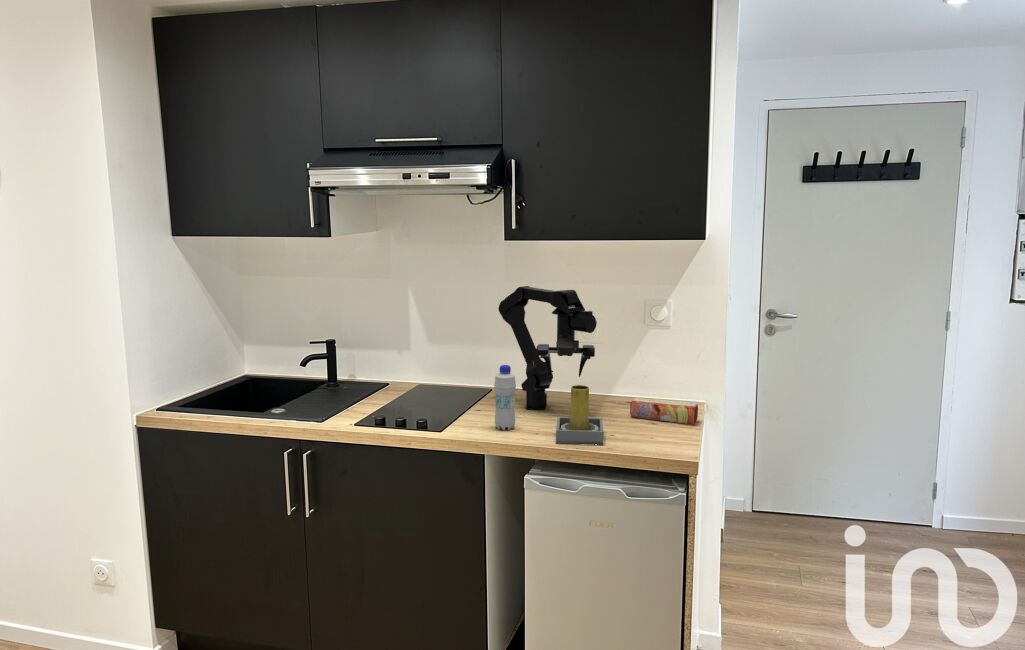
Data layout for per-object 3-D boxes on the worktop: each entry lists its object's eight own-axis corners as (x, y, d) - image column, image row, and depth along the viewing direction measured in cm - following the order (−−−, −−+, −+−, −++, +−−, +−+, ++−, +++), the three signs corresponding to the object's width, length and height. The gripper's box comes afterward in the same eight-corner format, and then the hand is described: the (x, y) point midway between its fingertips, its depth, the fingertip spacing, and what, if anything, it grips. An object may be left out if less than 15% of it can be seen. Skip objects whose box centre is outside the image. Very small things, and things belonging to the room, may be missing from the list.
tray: (555, 443, 219) (556, 430, 218) (557, 429, 232) (557, 416, 231) (603, 445, 217) (603, 432, 217) (601, 430, 231) (602, 418, 230)
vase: (586, 437, 221) (587, 390, 218) (566, 435, 223) (566, 388, 221) (591, 431, 226) (592, 385, 224) (572, 429, 229) (573, 383, 226)
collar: (560, 439, 220) (560, 432, 219) (561, 427, 230) (561, 421, 230) (598, 440, 219) (598, 433, 218) (597, 428, 229) (597, 422, 229)
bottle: (513, 431, 229) (514, 367, 226) (492, 430, 230) (492, 366, 227) (517, 425, 236) (517, 362, 232) (496, 424, 237) (496, 362, 234)
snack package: (628, 418, 244) (629, 398, 243) (634, 413, 250) (634, 393, 249) (694, 427, 235) (695, 406, 234) (698, 421, 241) (699, 401, 240)
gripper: (535, 333, 235) (535, 381, 238) (595, 334, 233) (594, 383, 236) (537, 326, 246) (537, 373, 249) (594, 327, 244) (593, 374, 247)
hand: (565, 376), depth 245 cm, fingers open, 9 cm apart
